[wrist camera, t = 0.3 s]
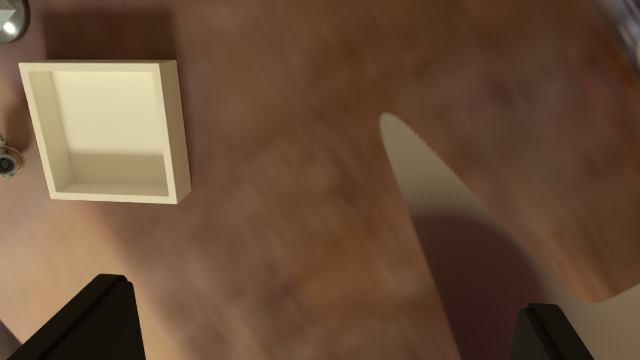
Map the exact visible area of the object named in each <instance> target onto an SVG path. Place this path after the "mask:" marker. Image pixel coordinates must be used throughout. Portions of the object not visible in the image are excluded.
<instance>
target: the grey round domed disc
mask: <svg viewBox="0 0 640 360" xmlns="http://www.w3.org/2000/svg"><path fill="white" fill-rule="evenodd" d="M7 1H8V2H9V3H10V4H11V5H12V6H13V7H14V8H15V9H16V11H15V12H14V13H13V15H12V16H11V17H10V19H9V20H8V21H7V22H6V24H5V25H4V26H3V28H2V29H1V30H0V43H12V42H15V41H17V40H19V39H21V38H22V37H23V36H24V34H25V33H26V31H27V29H28V27H29V22H30V11H29V6H28V3H27V0H7Z"/></svg>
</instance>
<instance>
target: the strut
mask: <svg viewBox="0 0 640 360" xmlns="http://www.w3.org/2000/svg"><path fill="white" fill-rule="evenodd" d="M15 11H16V9H15V8H14V7H13V6H12V5H11V4H10V3H9V2H8V1H7V0H0V30H1V29H2V28H3V26H4V25H5V24H6V22H7V21H8V20H9V19H10V17H11V16H12V15H13V13H14V12H15Z"/></svg>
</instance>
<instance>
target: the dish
mask: <svg viewBox="0 0 640 360" xmlns="http://www.w3.org/2000/svg"><path fill="white" fill-rule="evenodd" d="M18 64H19V68H20V72H21V77H22V81H23V85H24V89H25V93H26V97H27V101H28V106H29V110H30V114H31V118H32V122H33V126H34V131H35V135H36V139H37V143H38V147H39V151H40V156H41V160H42V164H43V168H44V172H45V176H46V180H47V185H48V189H49V193H50V197H51V199H68V200H93V201H118V202H143V203H168V204H178V203H179V202H180V201H181V200H182V199H183V198H184V197H185V196H186V195H187V194H188V193H189V192H190V191H191V190H192V189H191V180H190V172H189V163H188V155H187V146H186V138H185V129H184V121H183V112H182V104H181V95H180V87H179V78H178V70H177V61H176V60H39V61H30V62H22V63H18Z"/></svg>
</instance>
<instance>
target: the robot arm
mask: <svg viewBox="0 0 640 360" xmlns="http://www.w3.org/2000/svg"><path fill="white" fill-rule="evenodd" d="M7 360H146V357H145V351H144V346H143V340H142V334H141V328H140V322H139V316H138V311H137V305H136V299H135V293H134V287H133V284H132V283H131V282H129V281H127V278H126V277H125V276H123V275H114V274H99V275H98V276H96V277H95V278H94V279H93V280H92V281H91V282H90V283H89V284H88V285H86V286H85V287H84V288H83V289H82V290H81V291H80V292H79V293H78V294H77V295H76V296H75V297H74V298H72V299H71V300H70V301H69V302H68V303H67V304H66V305H65V306H64V307H63V308H62V309H61V310H60V311H58V312H57V313H56V314H55V315H54V316H53V317H52V318H51V319H50V320H49V321H48V322H47V323H46V324H44V325H43V326H42V327H41V328H40V329H39V330H38V331H37V332H36V333H35V334H34V335H33V336H31V337H30V338H29V339H28V340H27V341H26V342H25V343H24V344H23V345H22V346H21V347H20V348H19V349H17V350H16V351H15V352H14V353H13V354H12V355H11V356H10V357H9V358H8V359H7ZM509 360H594V358H593V357H592V355H591V354H590V352H589V351H588V349H587V348H586V346H585V345H584V343H583V342H582V340H581V339H580V337H579V336H578V334H577V333H576V331H575V330H574V328H573V327H572V325H571V324H570V322H569V321H568V319H567V318H566V316H565V314H564V313H563V311H562V310H561V308H560V307H559V306H558V305H555V304H542V303H529V304H528V306H527V308H526V309H520V310H519V312H518V317H517V322H516V327H515V332H514V337H513V342H512V348H511V352H510V358H509Z"/></svg>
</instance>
